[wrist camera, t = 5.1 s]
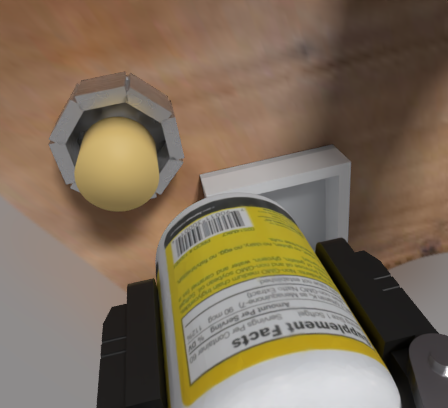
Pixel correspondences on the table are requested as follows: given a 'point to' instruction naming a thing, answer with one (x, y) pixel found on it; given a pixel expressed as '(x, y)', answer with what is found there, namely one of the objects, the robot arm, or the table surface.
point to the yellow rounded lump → (117, 164)
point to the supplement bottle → (258, 315)
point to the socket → (117, 107)
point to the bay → (296, 188)
